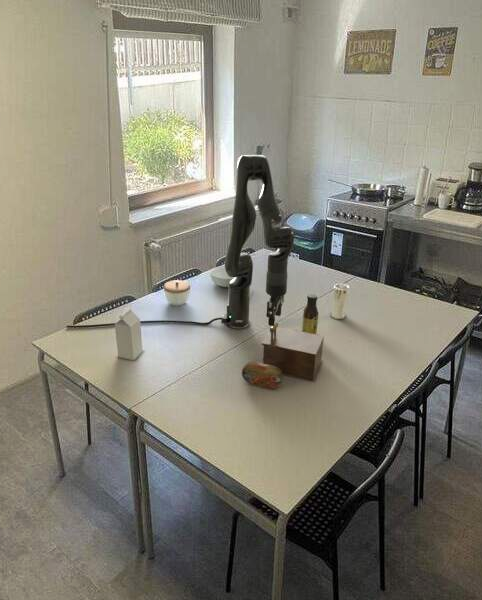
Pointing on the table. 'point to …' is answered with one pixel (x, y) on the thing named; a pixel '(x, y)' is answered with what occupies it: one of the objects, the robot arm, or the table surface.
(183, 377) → the table surface
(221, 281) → the cereal bowl
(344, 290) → the milkshake glass
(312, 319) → the sauce bottle
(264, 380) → the tin
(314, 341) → the lid
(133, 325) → the milk carton
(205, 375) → the table surface
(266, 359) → the chest
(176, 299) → the lidded bowl
